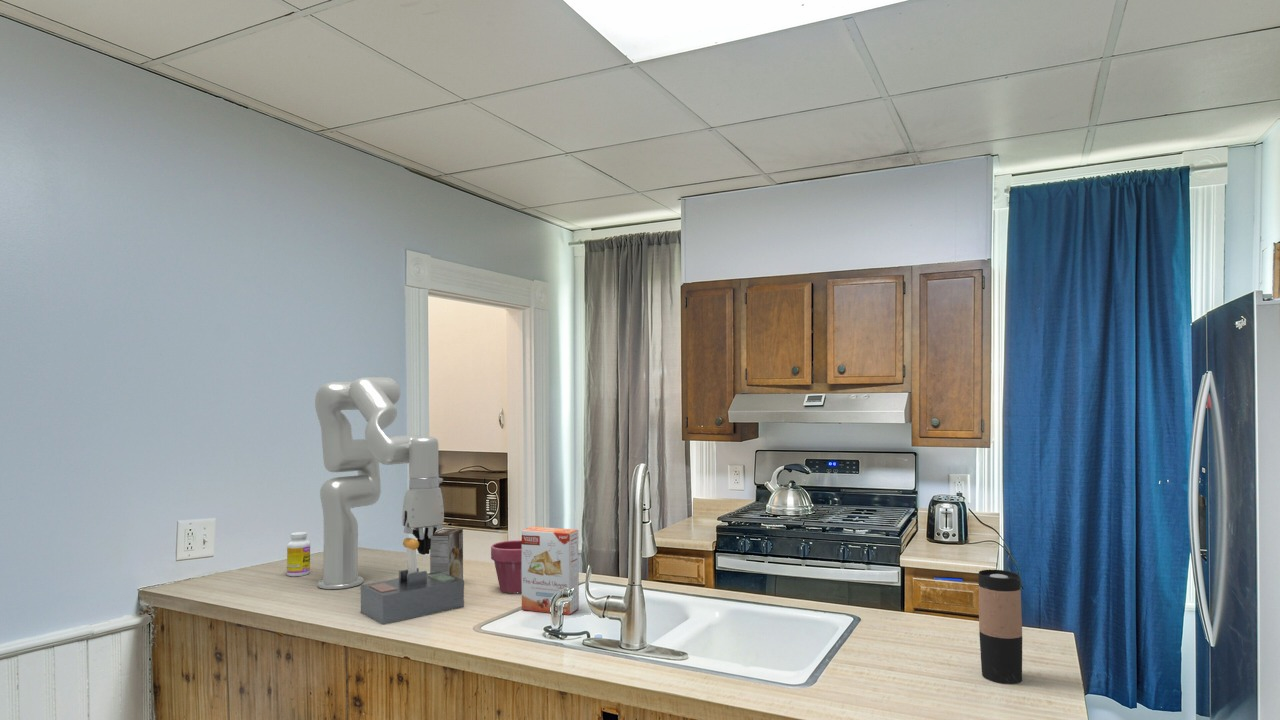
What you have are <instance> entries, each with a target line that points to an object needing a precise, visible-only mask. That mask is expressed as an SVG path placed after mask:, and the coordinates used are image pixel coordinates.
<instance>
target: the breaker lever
mask: <svg viewBox="0 0 1280 720" xmlns="http://www.w3.org/2000/svg"><path fill="white" fill-rule="evenodd" d="M402 545H403V547H404V548H406V559H407V560H406V561H407V562H406V563H407V569H408V574H410V573H415V572H417V568H418V565H417V548H418V547H419V542H418V541H417V539H415V538H412V537H406V538H404V540H402Z"/></svg>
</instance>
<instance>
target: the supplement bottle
mask: <svg viewBox="0 0 1280 720" xmlns="http://www.w3.org/2000/svg"><path fill="white" fill-rule="evenodd" d="M307 537H308V532H306V531H296V532H292V533H290V538H291V540H290V541H289V542H288V543H287V544H286V545H287V547H286V551H287V553H286V575H287V576H289V577H302V576H303V577H304V576H307V575H308V574H310V572H311V542H310V540H308V539H307Z"/></svg>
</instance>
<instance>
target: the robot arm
mask: <svg viewBox="0 0 1280 720" xmlns="http://www.w3.org/2000/svg"><path fill="white" fill-rule="evenodd" d="M315 394H316V395H315V399H314V406H315V407H314V408H315V413H316V415H317V419H318V422H319V426H320V430H321V431H320V432H321V447H322V449H321V450H322V458H323V459H322V460H323V465H324V468H325V469H326V471H328V472H330V473H348V472H357V474H356V475H346V476H345V475H344V476H337V477H333V478H328V479H327V480H326V481H324V483H322V485H321V487H320V490H319V497H320V503H321V508H322V517H323V520H322V521H323V568H322V569H323V573H322V574H323V578H322V579H320V580H319V581H317V587H318V588H320V589H324V590H343V589H348V588H349V589H350V588H354V587H356V586H361V585H363V583H364V578H363V577H362V576H360V575H359V573H358V570H359V569H358V568H359V566H358V564H359V562H358V561H359V556H358V555H359V550H358V549H359V524H358V520H357V518H356V516H355V515H354V513H353V512H352V510H351V509H354V508H361V507H362V508H363V507H367V506H373V505H374V504H376V503H377V502H378V501H379V500H380V497H381V493H382V489H381V486H382V485H381V474H380V464H382V465H386V466H389V465H392V466H393V465H400V464H401V465H403V464H404V465H405V464H408V479H409V480H408V489H406V490H405V493H404V499H403V505H402V516H401V518H402V519H401V520H402V521H401V522H402V523H401V524H402V526H403V527H404V529H403V534H404V533H405V534H407V535H410V534H411V535H413V536H414V537H415V538H416V540H417V541H418V542H419V547H418V548H417V549H416V551H417V553H418V554H420V555H423V556H424V555H430V538H432V536H433V534H434V533H435V532H437V531H439V530H442V529H444V524H443V523H444V521H445V509H444V507H445V506H444V500H443V493H442V489H441V487H440V484H442V483H443V481H444V480H443V477H440V476H439V440H438V439H437V438H436V437H433V436H422V435H417V434H416V435H415V434H413V435H412V434H411V435H410V434H409V435H395V436H394V435H393V436H388V435H386V434H385V432H384V431H383V430H385V429H386V428H388V427H390V426H391V425H392V424H393V423H394V422H395V420H396V418H397V416H398V410H397V407H396V406H395V405H396V404H397V403H398V402H399V400H400V398H401V389H400V386H399V384H398V382H397V381H395V379H393V378H391V377H386V376H385V377H379V376H378V377H377V376H375V377H373V376H371V377H370V376H367V377H366V376H365V377H360V378H356V379H355V380H353V381H331V382H327V383H324V384H322V385H321V386H319V387H318V389H317V391H316V393H315ZM355 410H356V411H357V410H358V411H359V413H360V414H361V415H362V417H363V418H364V420H365V421H366V422H367V423H366V426H365V429H364V430H365V431H364V437H365V438H360V439H354V438H353V433H352V432H353V431H352V425H351V422H350V421H349V419H348V417H347V416H346V414H344V412H342V411H355Z"/></svg>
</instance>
